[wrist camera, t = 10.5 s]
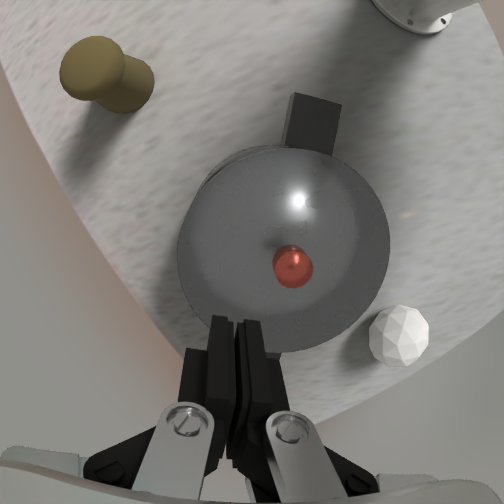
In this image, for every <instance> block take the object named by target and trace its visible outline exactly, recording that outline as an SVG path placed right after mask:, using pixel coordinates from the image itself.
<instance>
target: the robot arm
mask: <svg viewBox="0 0 504 504" xmlns="http://www.w3.org/2000/svg"><path fill="white" fill-rule="evenodd" d="M372 1H373V3H374V4H375V6H376V7H377V8H378V9H379V10H380V11H381V12H382V13H383V14H384V15H385V16H386V17H388V18H389V19H390V20H391V21H393V22H394V23H396V24H397V25H398V26H400V27H402V28H404V29H406V30H408V31H411V32H414V33H417V34H424V35H426V34H434V33H437V32H440V31H442V30H444V29H445V28H446V27H447V26H448V25H449V23H450V21H451V18H452V14H453V12H454V11H457V10H459V9H462V8H464V7H467V6H470V5H472V4H475V3H478V2H480V1H483V0H372ZM225 445H226V456H227V459H232V463H233V468H237V469H238V471H239V472H240V473H242V474H243V475H244V476H246V477H245V483H246V487H247V491H248V494H249V498H250V502H251V503H231V502H215V501H202V500H199V499H200V495H201V490H202V486H203V481H204V477H205V476H207V475H208V474H210V473H211V472H213V471H214V470H216V469H217V466H218V462H219V459H222V456H223V453H224V448H225ZM0 504H503V503H502V501H501V500H500V498H499V497H498V495H497V494H496V493H495V492H494V491H493V490H492V489H491V488H490V487H489V486H488V485H486V484H484V483H481V482H478V481H472V480H461V479H456V480H454V479H453V480H441V481H439V480H438V479H437V478H435V477H434V476H432V475H426V474H380V473H379V474H378V475H377V476H373V475H372V474H371V473H369V472H368V471H366V470H365V469H363V468H361V467H359V466H358V465H356V464H354V463H352V462H351V461H349V460H347V459H345V458H344V457H342V456H340V455H338V454H337V453H335V452H334V451H332V450H330V449H329V448H327V447H325V446H324V445H323V443H322V441H321V439H320V437H319V435H318V433H317V431H316V429H315V427H314V425H313V423H312V422H311V421H310V420H309V419H308V418H307V417H306V416H304V415H302V414H300V413H297V412H293V411H290V408H289V403H288V398H287V394H286V389H285V385H284V380H283V375H282V371H281V366H280V362H279V360H278V359H276V358H266V353H265V347H264V341H263V335H262V329H261V323H260V321H256V320H248V319H244V321H243V323H240V322H238V323H237V327H236V332H235V337H234V323H233V322H232V321H228V317H225V316H218V315H212V319H211V326H210V332H209V339H208V345H207V351H205V350H198V349H191V348H186V351H185V357H184V364H183V370H182V376H181V383H180V390H179V396H178V402H177V403H174V404H171V405H169V406H168V407H167V408H165V409H164V411H163V412H162V414H161V416H160V419H159V421H158V424H157V426H155V427H153V428H151V429H149V430H147V431H145V432H142V433H140V434H138V435H136V436H134V437H132V438H130V439H128V440H125V441H123V442H121V443H119V444H117V445H115V446H112V447H110V448H108V449H105V450H103V451H101V452H98V453H96V454H94V455H93V456H91V457H89V458H85V457H84V458H83V457H79V454H74V453H65V452H56V451H49V450H42V449H35V448H29V447H24V446H12V447H9V448H7V449H6V450H5V451H4V452H3V453H2V454H1V457H0Z"/></svg>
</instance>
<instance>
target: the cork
mask: <svg viewBox="0 0 504 504" xmlns="http://www.w3.org/2000/svg"><path fill="white" fill-rule="evenodd" d="M59 74H60V82H61V84H62V87H63V89H64V90H65V91H66V92H67V93H68V94H69V95H70V96H71V97H73V98H76V99H79V100H83V101H92V100H96V101H97V102H99V103H100V104H101V105H103V106H104V107H106V108H107V109H109V110H110V111H113V112H115V113H124V114H125V113H129V112H133V111H135V110H137V109H139V108H140V107H142V106H143V105H144V104H145V103H146V102H147V101H148V100H149V98H150V96H151V94H152V92H153V88H154V83H155V82H154V74H153V72H152V70H151V68H150V66H148V65H147V64H146V63H145V62H144V61H142V60H139V59H136V58H134V57H131V56H128V55H125V54H123V52H122V50H121V48H120V46H119V45H118V44H117V43H115V42H114V41H113V40H112V39H110V38H107V37H103V36H90V37H87V38H85V39H82V40H80V41H79V42H77V43H76V44H74V45H73V46H72V47H71V48H70V49H69V50H68V52H67V53H66V54H65V56H64V58H63V60H62V62H61V67H60V72H59Z"/></svg>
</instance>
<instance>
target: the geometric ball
mask: <svg viewBox="0 0 504 504" xmlns="http://www.w3.org/2000/svg"><path fill="white" fill-rule="evenodd" d="M428 331H429V325H428V324H427V322H426V321H425V319H424V318H423V317H422V315H421V314H420V313H419V311H418V310H417V309H413V308H410V307H406V306H402V305H396V306H393V307H390V308H388V309H385V310H383V311H380V313H379V314H378V316H377V317H376V318H375V320H374V321H373V323H372V324H371V326H370V327H369V347H370V349H371V351H372V353H373V355H374V358H376V359H377V360H379V361H380V362H382V363H384V364H385V365H387V366H388V367H407V366H408V365H410V364H412V363H413V362H415V361H416V360H417V359H418V358H419V357H420V355H421V354H422V353H423V351H424V350H425V348H426V347H427V346H428Z"/></svg>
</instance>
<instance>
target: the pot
mask: <svg viewBox="0 0 504 504" xmlns="http://www.w3.org/2000/svg"><path fill="white" fill-rule="evenodd" d="M341 107H342V105H341V104H337V103H334V102H330V101H327V100H323V99H319V98H316V97H312V96H308V95H304V94H300V93H296V92H295V93H293V94H292V95H291V96H290V101H289V106H288V111H287V116H286V121H285V126H284V131H283V136H282V141H281V145H285V146H290V147H294V148H299V149H305V150H311V151H316V152H319V153H322V154H326V155H330V156H332V151H333V147H334V142H335V137H336V132H337V127H338V122H339V117H340V112H341ZM290 147H281V146H258V147H252V148H249V149H245V150H242V151H240V152H238V153H235V154H233V155H232V156H230V157H228V158H226V159H225V160H224V161H222V162H221V163H220V164H219V165H217V166H216V167H215V168H214V169H213V170H212V171H211V172H210V173H209V175H208V176H207V177H206V179H205V180H204V182H203V183H202V185H201V187H200V189H199V191H198V193H197V195H196V197H197V196H198V194H199V193H200V191H201V190H202V189H203V187H204V186H205V185H206V184H207V183H208V182H209V181H210V180H211V179H212V178H213V177H214V176H215V175H217V174H218V173H219V172H220V171H222V170H223V169H224V168H226V167H227V166H229V165H231V164H232V163H234V162H236V161H237V160H239V159H242V158H244V157H246V156H249V155H251V154H254V153H258V152H261V151H265V150H271V149H279V148H290ZM196 197H195V198H196ZM194 200H195V199H194ZM265 353H266V358H276V359H278V360H279V359H280V356H281V353H269V352H265Z"/></svg>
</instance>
